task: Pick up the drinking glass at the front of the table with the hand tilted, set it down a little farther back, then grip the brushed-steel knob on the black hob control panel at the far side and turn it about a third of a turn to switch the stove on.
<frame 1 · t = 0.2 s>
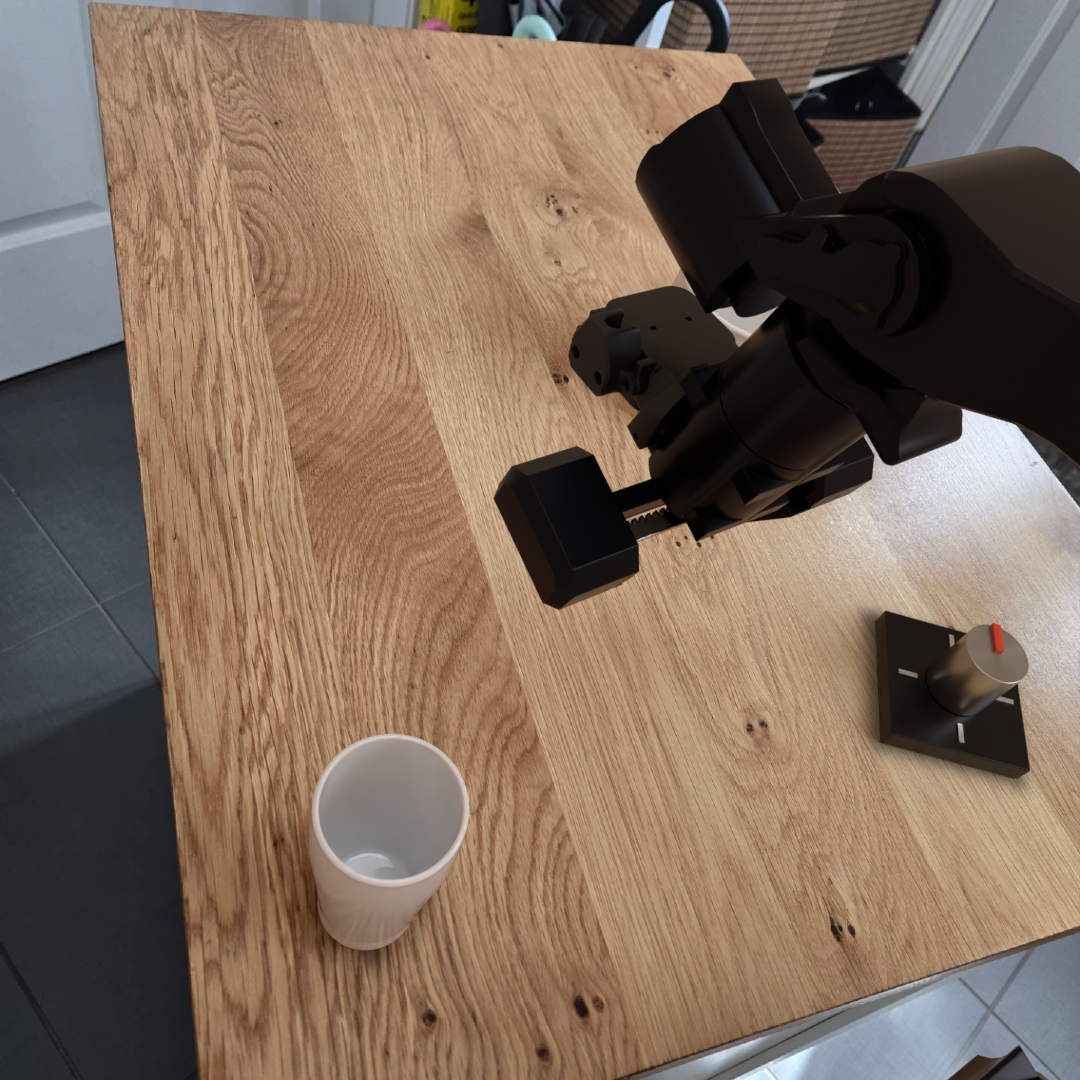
hand: (623, 544, 52), 14 cm above the kitchen island top, tool pointing down, fingers open, 9 cm apart
hob knob: (977, 669, 65), point 4 cm above the kitchen island top, hinge at 0.0°
cup: (697, 414, 80), on the kitchen island top
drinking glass: (366, 902, 53), on the kitchen island top
hob panel: (943, 696, 69), on the kitchen island top
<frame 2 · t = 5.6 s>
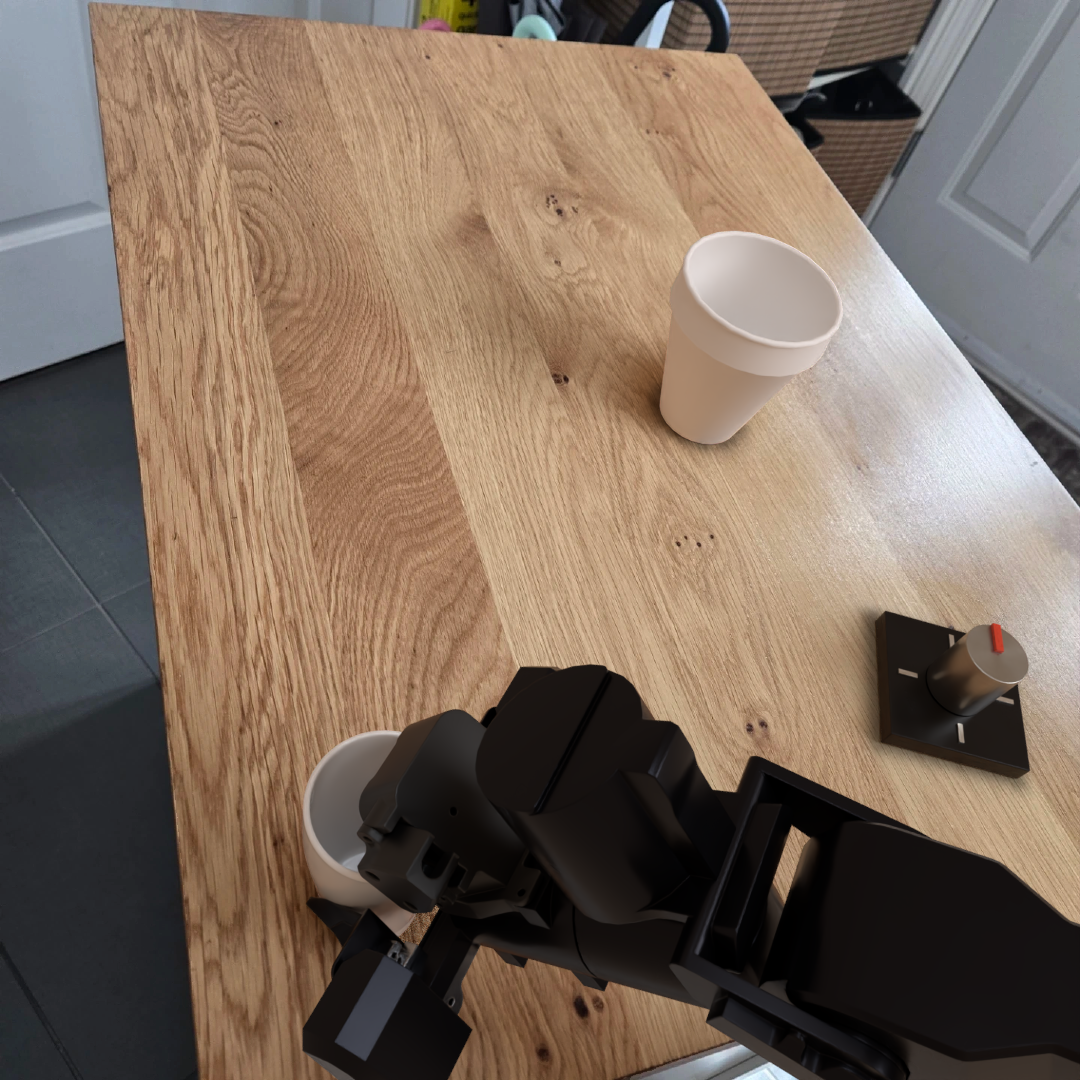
hand: (353, 843, 47), 8 cm above the kitchen island top, tool tilted 45°, fingers closed on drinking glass, 6 cm apart
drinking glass: (369, 899, 53), on the kitchen island top, touching gripper
everything else where it was.
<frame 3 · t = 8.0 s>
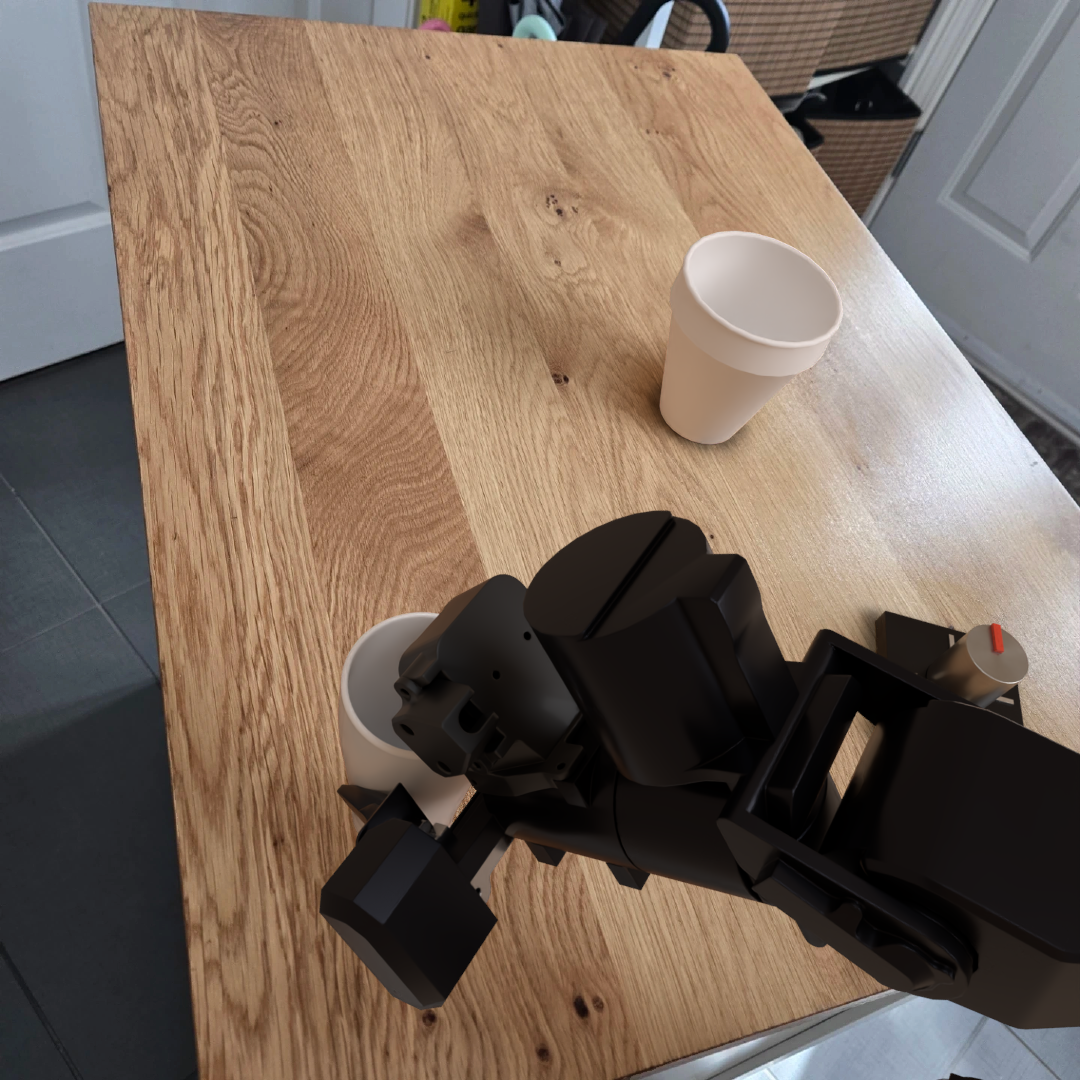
hand: (390, 739, 45), 12 cm above the kitchen island top, tool tilted 45°, fingers closed on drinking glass, 6 cm apart
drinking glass: (402, 813, 51), point 5 cm above the kitchen island top, touching gripper
everything else where it was.
when the fingers open (8 cm above the kitchen island top, at t = 10.8 s): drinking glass stays where it is, on the kitchen island top.
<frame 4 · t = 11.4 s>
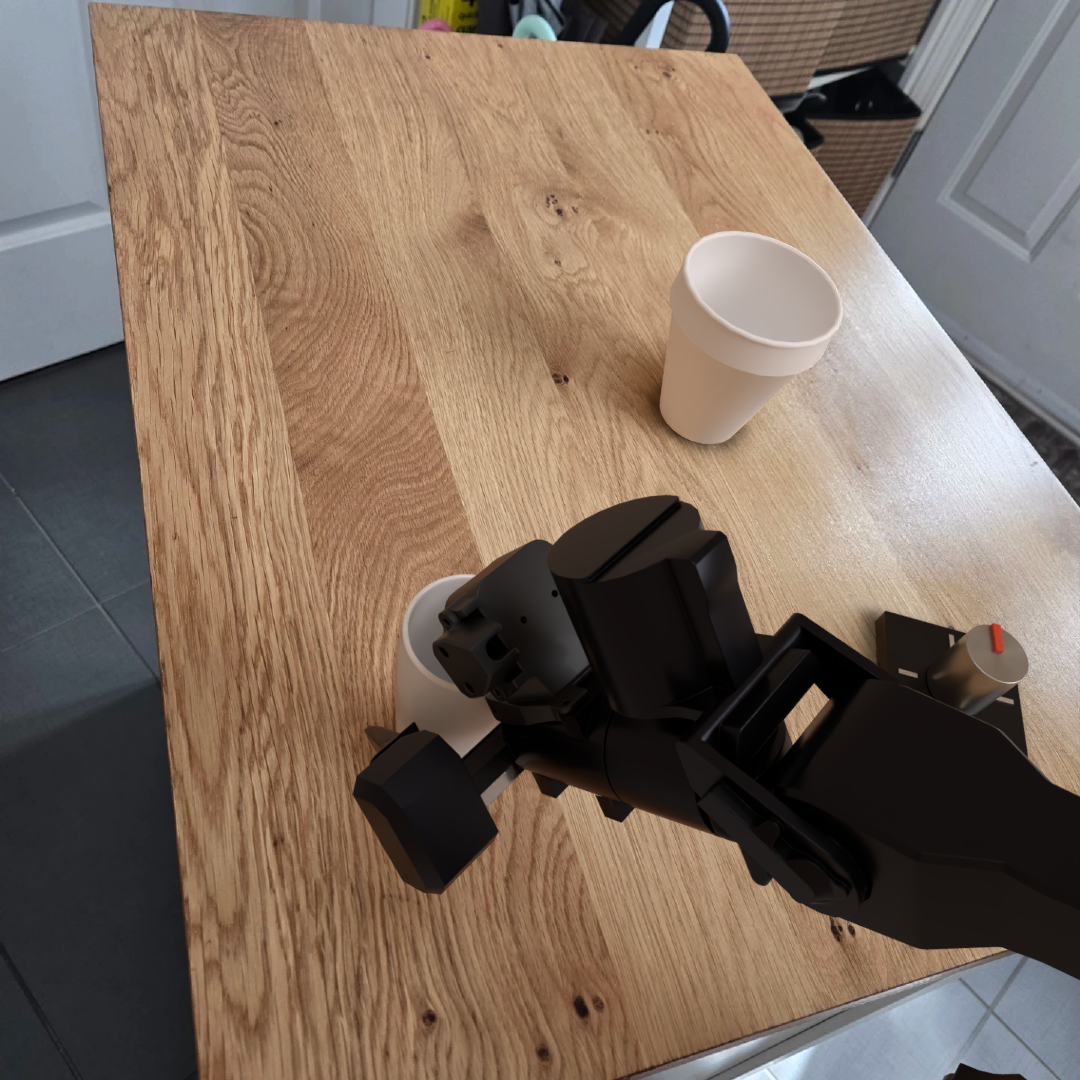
hand: (434, 680, 52), 8 cm above the kitchen island top, tool tilted 45°, fingers open, 9 cm apart
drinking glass: (437, 758, 58), on the kitchen island top
everything else where it was.
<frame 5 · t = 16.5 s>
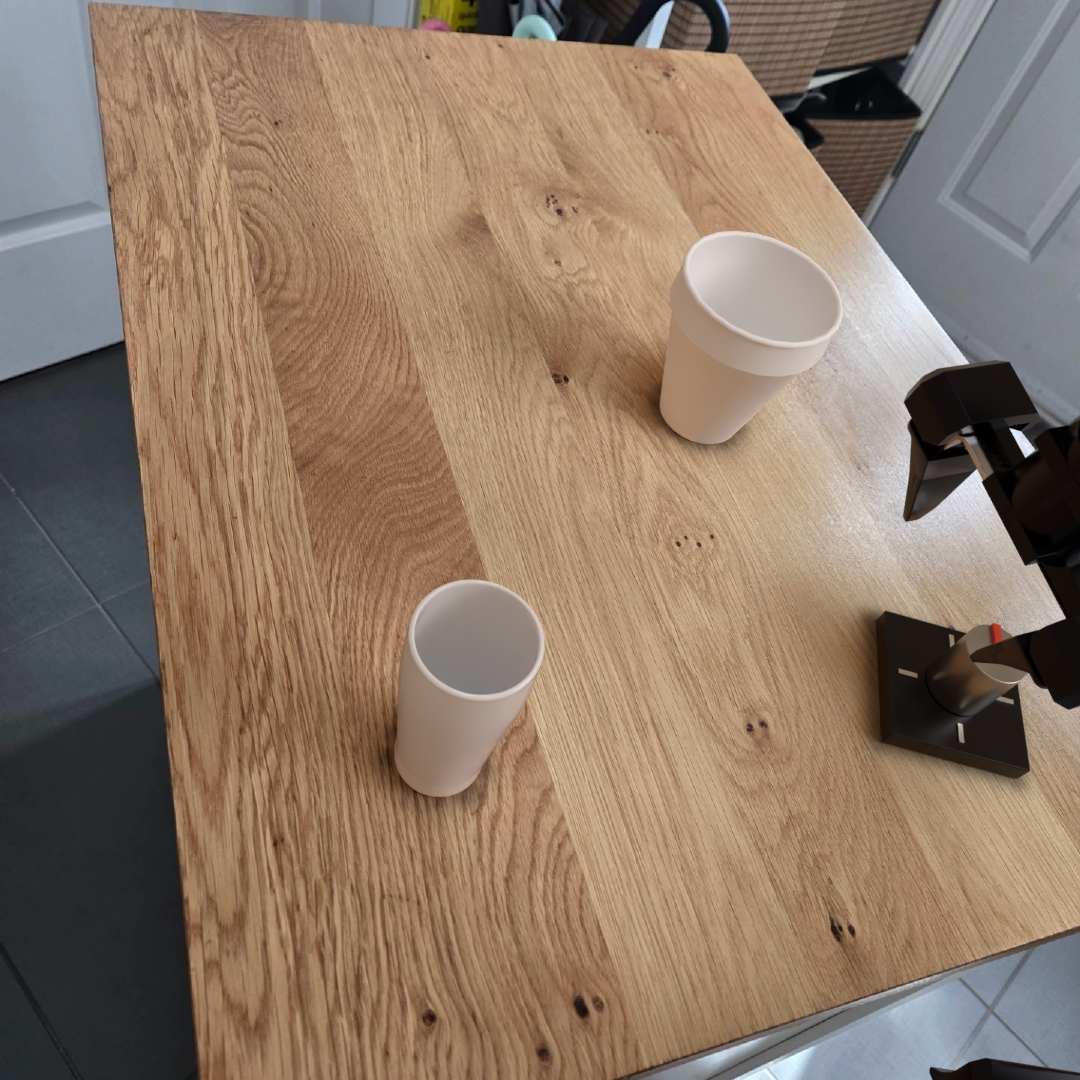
hand: (942, 585, 58), 13 cm above the kitchen island top, tool pointing down, fingers open, 9 cm apart
nothing on the kitchen island top moved.
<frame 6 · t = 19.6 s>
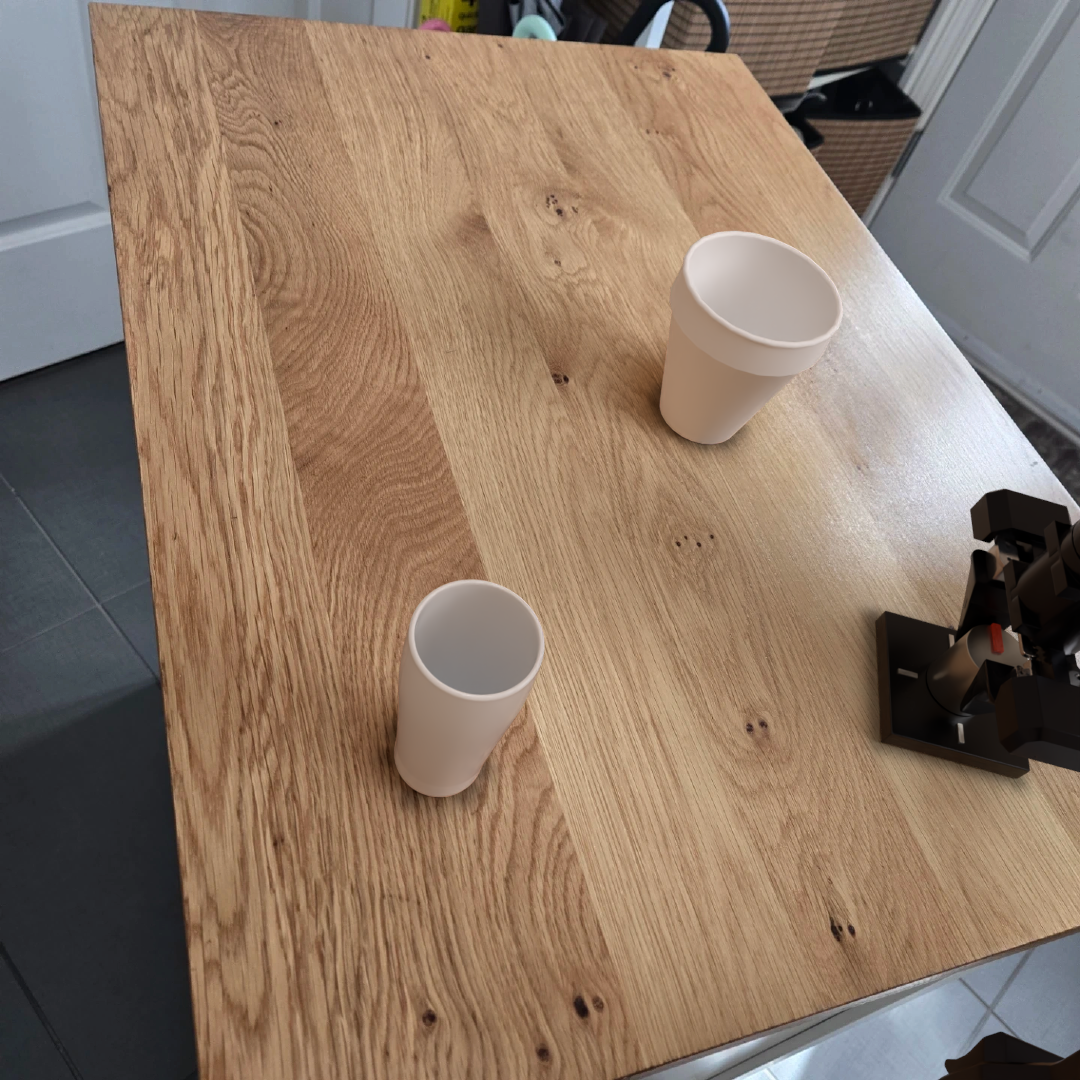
hand: (963, 681, 67), 3 cm above the kitchen island top, tool pointing down, fingers closed on hob knob, 4 cm apart
hob knob: (977, 669, 65), point 4 cm above the kitchen island top, hinge at 0.0°, touching gripper
everything else where it was.
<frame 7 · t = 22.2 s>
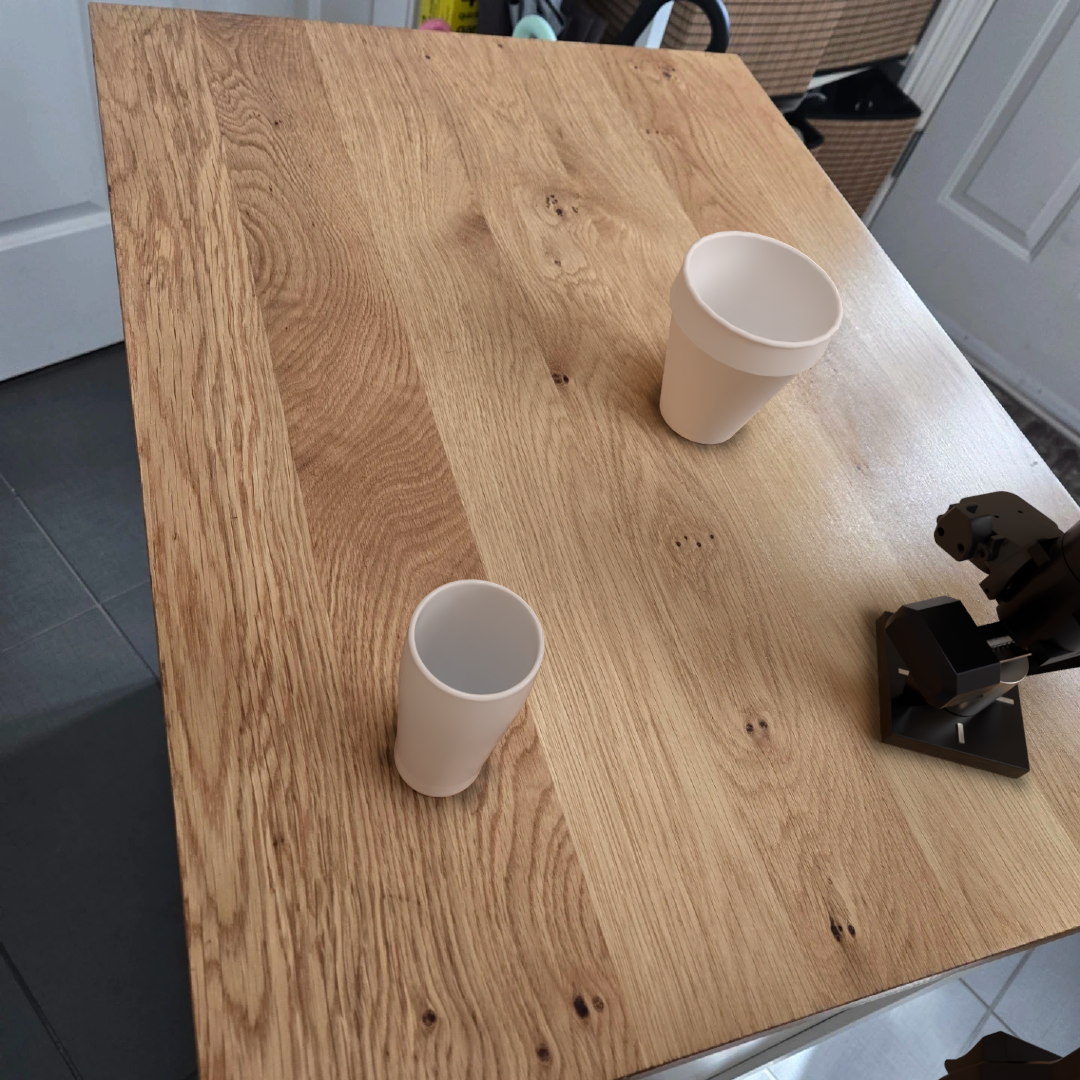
hand: (956, 685, 67), 2 cm above the kitchen island top, tool pointing down, fingers open, 8 cm apart
hob knob: (977, 669, 65), point 4 cm above the kitchen island top, hinge at 120.7°
everything else where it was.
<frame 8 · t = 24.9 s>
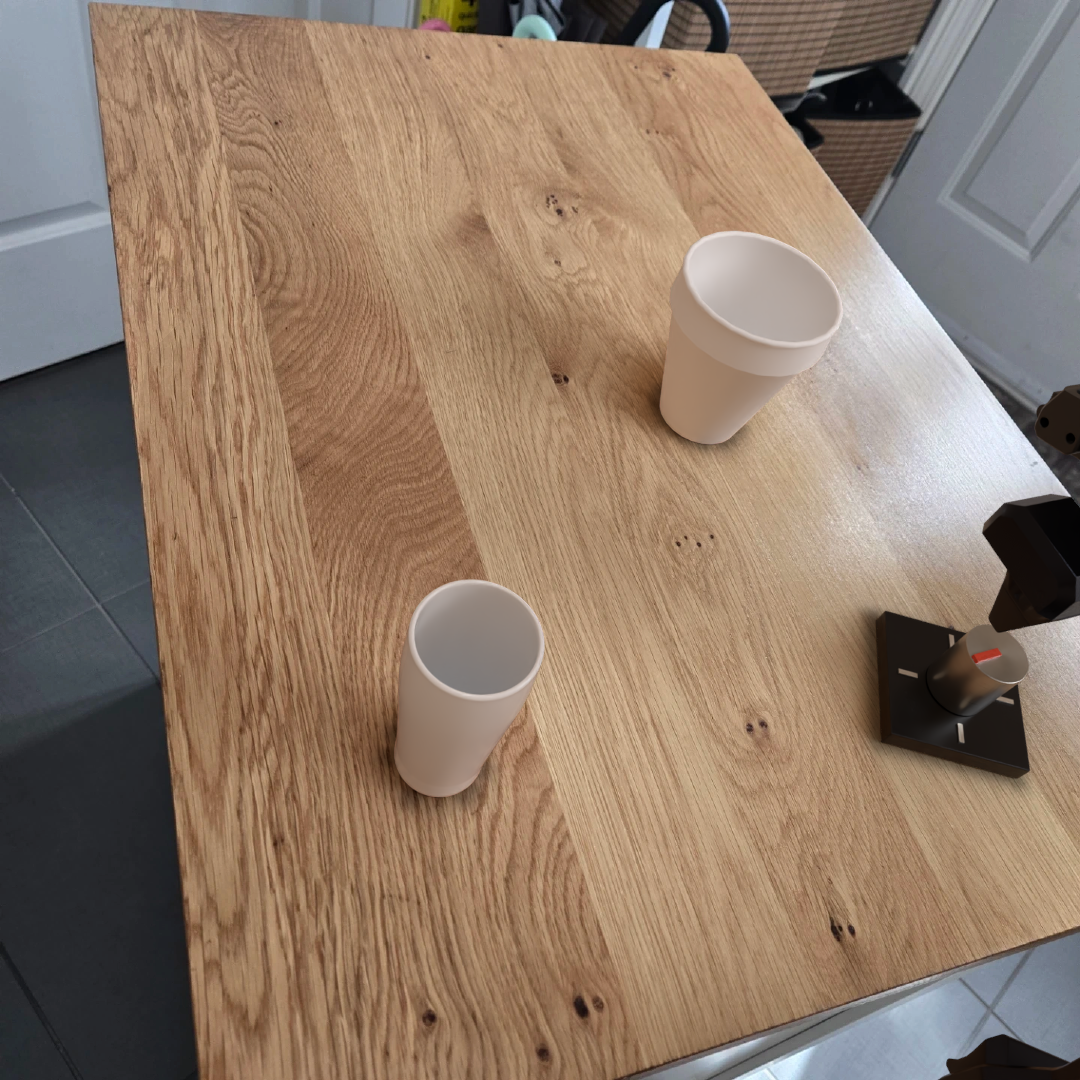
hand: (1050, 611, 59), 12 cm above the kitchen island top, tool pointing down, fingers open, 9 cm apart
nothing on the kitchen island top moved.
at the end: hob knob at +121° (first picture: +0°); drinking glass inside the target area (0.2 cm from its centre), on the kitchen island top; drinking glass tilted 0° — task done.
